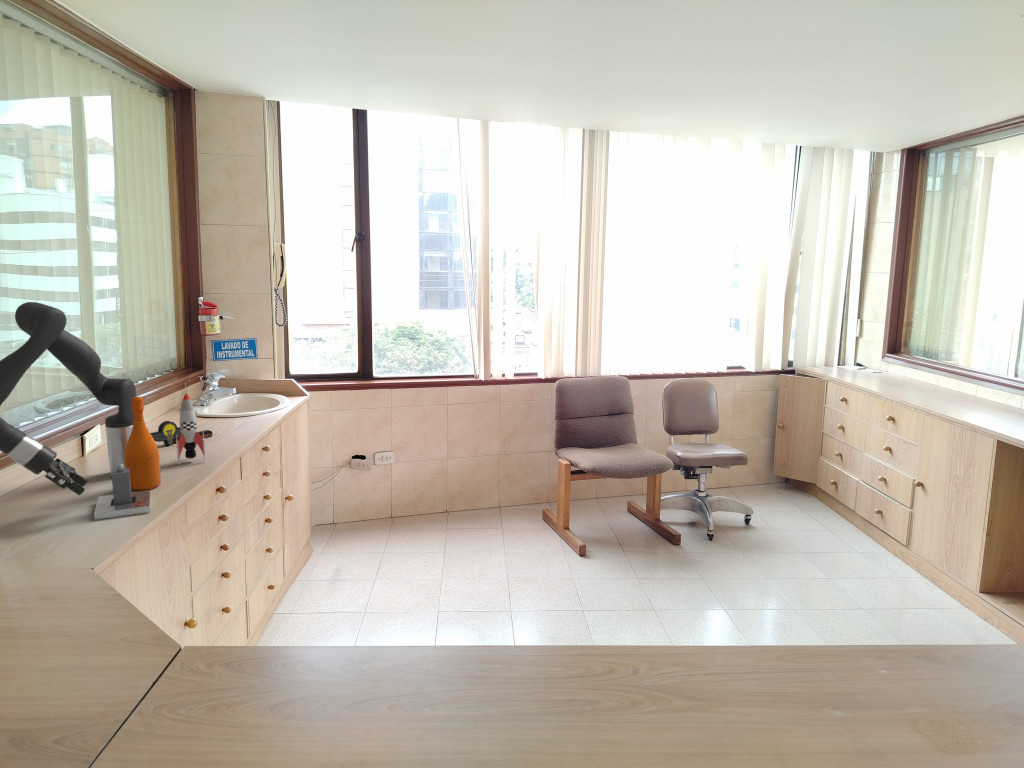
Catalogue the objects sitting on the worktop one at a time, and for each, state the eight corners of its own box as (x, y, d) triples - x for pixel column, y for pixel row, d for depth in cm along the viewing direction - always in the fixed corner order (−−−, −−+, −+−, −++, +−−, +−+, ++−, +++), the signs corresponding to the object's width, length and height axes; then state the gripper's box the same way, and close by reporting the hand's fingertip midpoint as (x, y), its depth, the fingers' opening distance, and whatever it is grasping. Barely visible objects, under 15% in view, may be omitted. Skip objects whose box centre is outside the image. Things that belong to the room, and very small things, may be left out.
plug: (114, 510, 202) (110, 467, 200) (115, 505, 206) (111, 463, 204) (131, 507, 204) (127, 465, 202) (132, 503, 208) (128, 462, 206)
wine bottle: (167, 482, 228) (160, 394, 223) (149, 492, 219) (141, 400, 214) (140, 481, 229) (132, 393, 224) (120, 491, 220) (112, 399, 214)
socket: (98, 502, 209) (98, 494, 208) (150, 496, 215) (149, 488, 215) (94, 520, 195) (93, 511, 194) (150, 512, 201) (149, 504, 201)
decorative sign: (149, 450, 266) (146, 425, 265) (146, 450, 268) (143, 425, 266) (212, 436, 288) (211, 413, 287) (209, 436, 290) (208, 413, 288)
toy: (207, 461, 252) (202, 381, 247) (186, 467, 245) (180, 385, 240) (193, 457, 257) (187, 379, 252) (171, 463, 250) (165, 382, 245)
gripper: (39, 450, 187) (92, 485, 194) (45, 438, 199) (95, 471, 206) (17, 471, 185) (71, 505, 192) (25, 458, 198) (76, 491, 205)
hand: (83, 488), depth 199 cm, fingers open, 8 cm apart
